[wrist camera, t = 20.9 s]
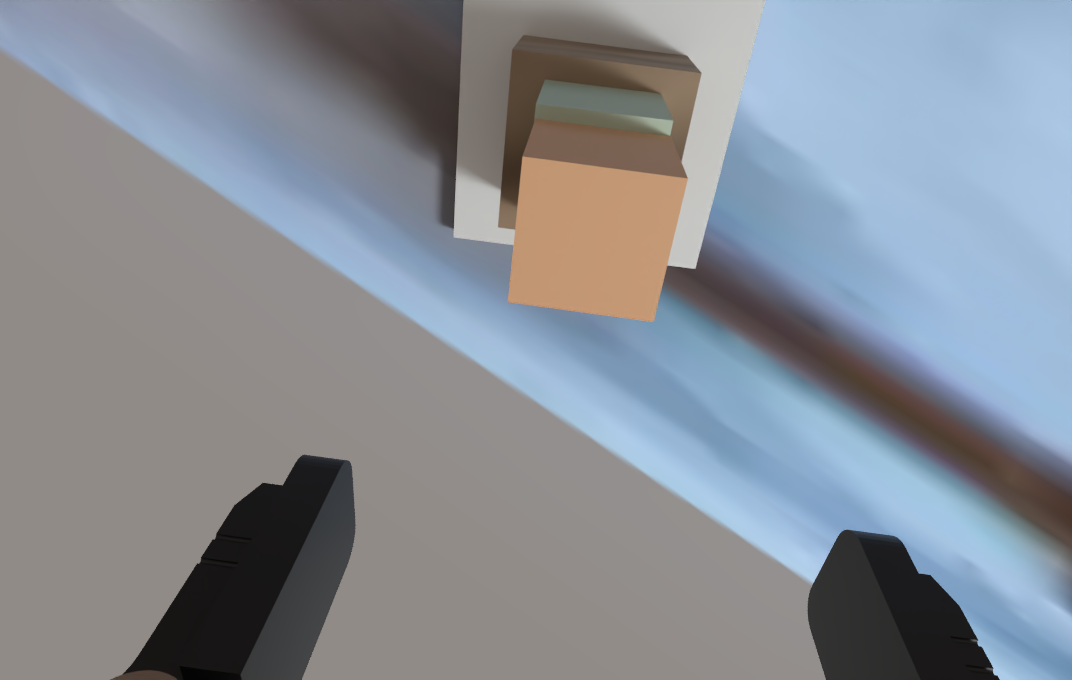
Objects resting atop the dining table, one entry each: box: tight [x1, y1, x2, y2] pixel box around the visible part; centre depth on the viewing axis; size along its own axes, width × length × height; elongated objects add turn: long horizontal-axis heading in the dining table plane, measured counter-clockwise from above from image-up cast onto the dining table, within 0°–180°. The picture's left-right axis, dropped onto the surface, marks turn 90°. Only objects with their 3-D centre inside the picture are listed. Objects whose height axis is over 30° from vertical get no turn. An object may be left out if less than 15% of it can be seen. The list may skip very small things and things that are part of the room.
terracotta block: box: [508, 119, 688, 322], centre depth 23 cm, size 5×5×5 cm
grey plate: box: [454, 0, 765, 269], centre depth 34 cm, size 14×14×1 cm
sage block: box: [534, 79, 673, 136], centre depth 27 cm, size 6×5×5 cm
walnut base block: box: [498, 35, 702, 230], centre depth 31 cm, size 8×8×5 cm
